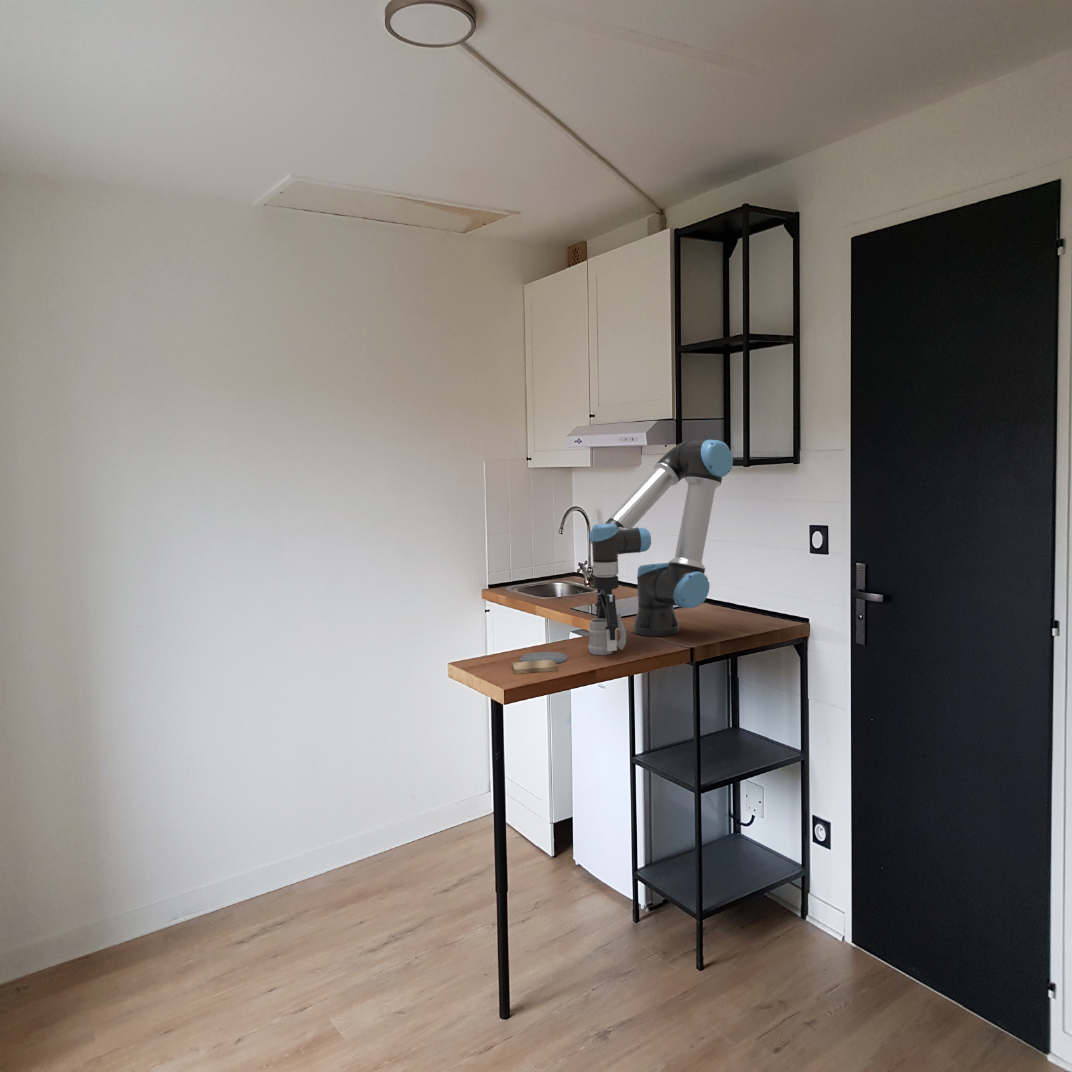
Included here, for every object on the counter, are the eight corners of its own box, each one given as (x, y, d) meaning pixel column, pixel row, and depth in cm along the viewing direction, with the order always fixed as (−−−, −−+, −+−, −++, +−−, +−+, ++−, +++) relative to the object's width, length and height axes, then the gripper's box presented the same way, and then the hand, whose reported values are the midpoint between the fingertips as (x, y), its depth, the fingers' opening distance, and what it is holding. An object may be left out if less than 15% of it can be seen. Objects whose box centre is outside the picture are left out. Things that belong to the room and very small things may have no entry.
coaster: (563, 652, 245) (563, 650, 245) (571, 663, 231) (571, 661, 231) (517, 655, 243) (517, 653, 243) (522, 666, 229) (522, 664, 229)
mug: (591, 648, 248) (590, 610, 247) (629, 650, 244) (628, 611, 243) (585, 654, 241) (584, 615, 240) (624, 656, 237) (623, 616, 236)
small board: (553, 663, 232) (553, 659, 231) (557, 670, 224) (557, 666, 224) (512, 666, 230) (511, 662, 230) (514, 673, 222) (514, 669, 222)
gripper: (585, 570, 252) (587, 637, 254) (601, 581, 228) (603, 655, 230) (608, 569, 253) (610, 636, 255) (627, 580, 229) (629, 654, 231)
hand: (607, 645), depth 243 cm, fingers open, 12 cm apart
